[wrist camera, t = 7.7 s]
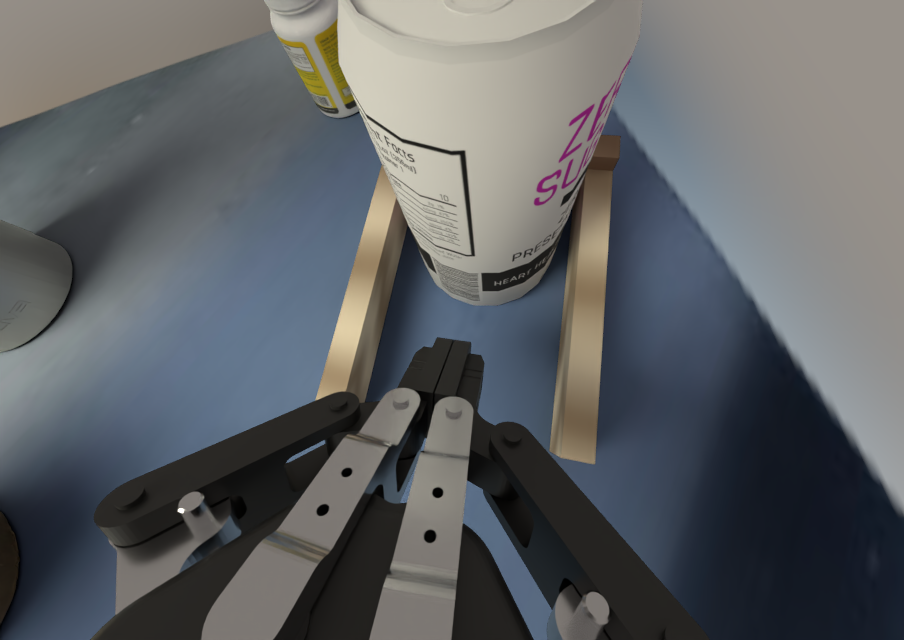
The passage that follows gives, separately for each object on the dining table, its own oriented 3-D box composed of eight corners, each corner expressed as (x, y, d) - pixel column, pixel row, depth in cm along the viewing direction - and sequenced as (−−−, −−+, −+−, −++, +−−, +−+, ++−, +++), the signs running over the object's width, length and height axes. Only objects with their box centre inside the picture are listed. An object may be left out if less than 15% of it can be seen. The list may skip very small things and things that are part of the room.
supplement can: (429, 200, 23) (333, -140, 9) (548, 196, 22) (651, -193, 8) (421, 308, 21) (277, 83, 7) (553, 309, 20) (709, 47, 6)
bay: (577, 456, 18) (602, 467, 14) (338, 409, 20) (302, 407, 16) (598, 183, 22) (620, 135, 18) (401, 169, 24) (385, 124, 21)
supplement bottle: (370, 70, 28) (322, -71, 20) (374, 113, 26) (323, -20, 18) (316, 82, 28) (246, -52, 20) (317, 125, 27) (242, -1, 19)
